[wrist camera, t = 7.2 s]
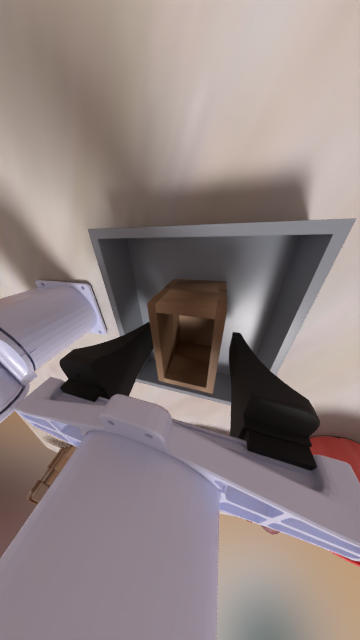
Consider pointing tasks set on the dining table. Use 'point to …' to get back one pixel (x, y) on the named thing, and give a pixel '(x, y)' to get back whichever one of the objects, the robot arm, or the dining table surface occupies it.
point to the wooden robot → (50, 474)
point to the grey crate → (223, 265)
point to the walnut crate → (188, 331)
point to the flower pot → (338, 457)
